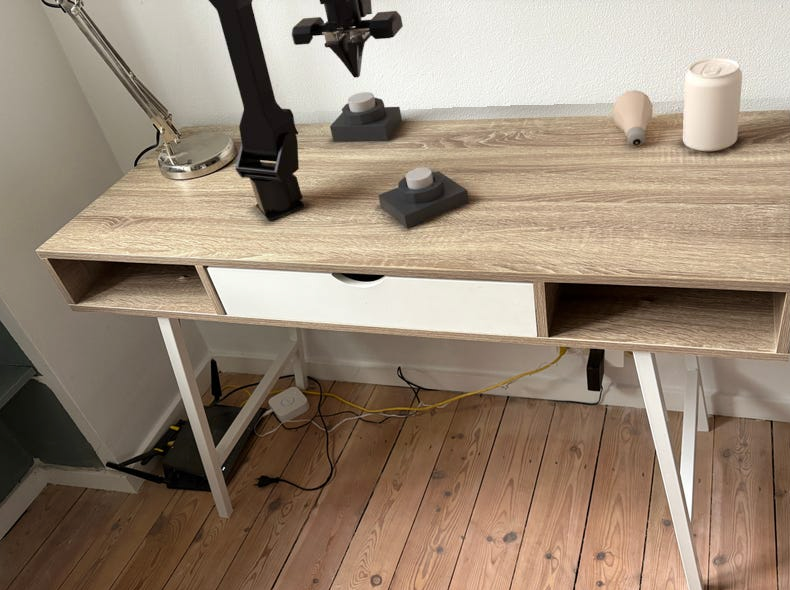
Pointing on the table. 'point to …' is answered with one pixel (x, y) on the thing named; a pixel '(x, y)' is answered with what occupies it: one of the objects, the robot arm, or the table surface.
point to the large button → (361, 102)
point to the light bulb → (633, 115)
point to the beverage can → (712, 104)
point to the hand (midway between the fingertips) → (357, 76)
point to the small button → (419, 178)
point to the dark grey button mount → (366, 123)
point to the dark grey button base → (423, 200)
